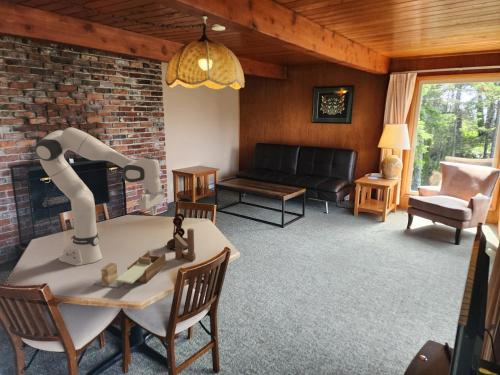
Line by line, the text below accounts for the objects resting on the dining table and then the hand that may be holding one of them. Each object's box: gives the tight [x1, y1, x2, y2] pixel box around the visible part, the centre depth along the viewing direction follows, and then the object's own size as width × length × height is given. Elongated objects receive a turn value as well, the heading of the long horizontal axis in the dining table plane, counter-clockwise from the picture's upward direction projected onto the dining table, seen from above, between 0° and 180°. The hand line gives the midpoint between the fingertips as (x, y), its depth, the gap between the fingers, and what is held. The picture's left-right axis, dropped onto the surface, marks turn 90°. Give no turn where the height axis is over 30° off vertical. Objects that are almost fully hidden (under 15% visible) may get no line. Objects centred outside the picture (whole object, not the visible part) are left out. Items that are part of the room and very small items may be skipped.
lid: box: [116, 256, 152, 284], centre depth 167 cm, size 8×20×4 cm, turn 166°
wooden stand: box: [174, 228, 196, 262], centre depth 193 cm, size 4×11×18 cm, turn 78°
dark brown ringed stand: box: [166, 212, 188, 250], centre depth 211 cm, size 15×15×20 cm
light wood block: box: [100, 262, 119, 286], centre depth 167 cm, size 4×7×8 cm, turn 167°
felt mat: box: [93, 277, 125, 289], centre depth 168 cm, size 13×7×1 cm, turn 77°
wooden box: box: [127, 251, 167, 284], centre depth 178 cm, size 10×20×7 cm, turn 167°
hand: (153, 213), depth 180 cm, fingers closed
